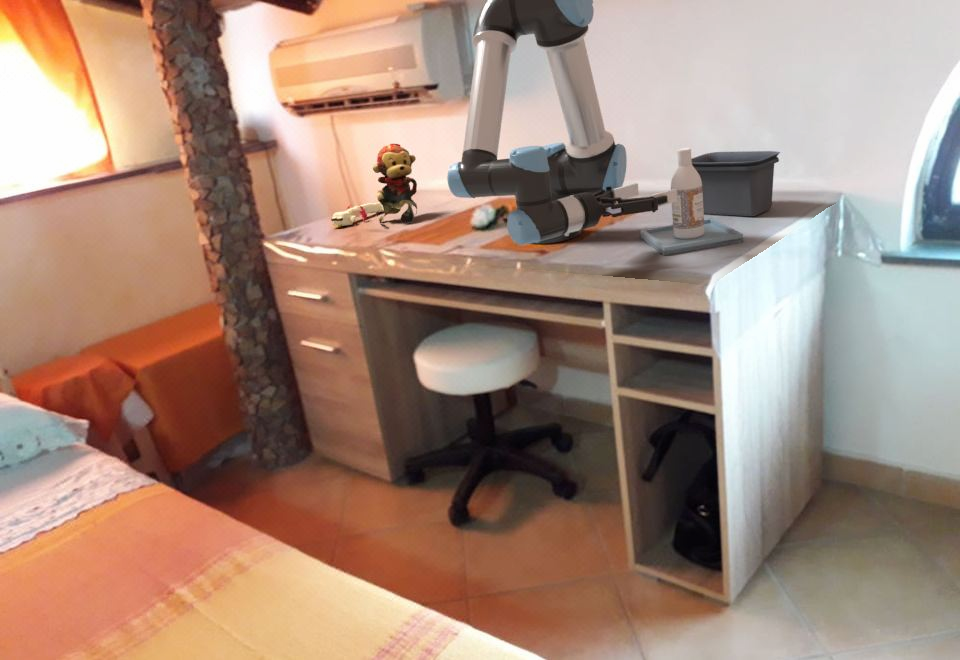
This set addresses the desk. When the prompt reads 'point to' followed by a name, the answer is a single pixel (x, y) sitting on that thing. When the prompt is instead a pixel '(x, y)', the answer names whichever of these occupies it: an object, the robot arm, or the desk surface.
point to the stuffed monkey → (396, 181)
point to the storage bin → (736, 181)
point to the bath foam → (687, 199)
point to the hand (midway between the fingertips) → (656, 192)
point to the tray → (712, 237)
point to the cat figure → (356, 213)
